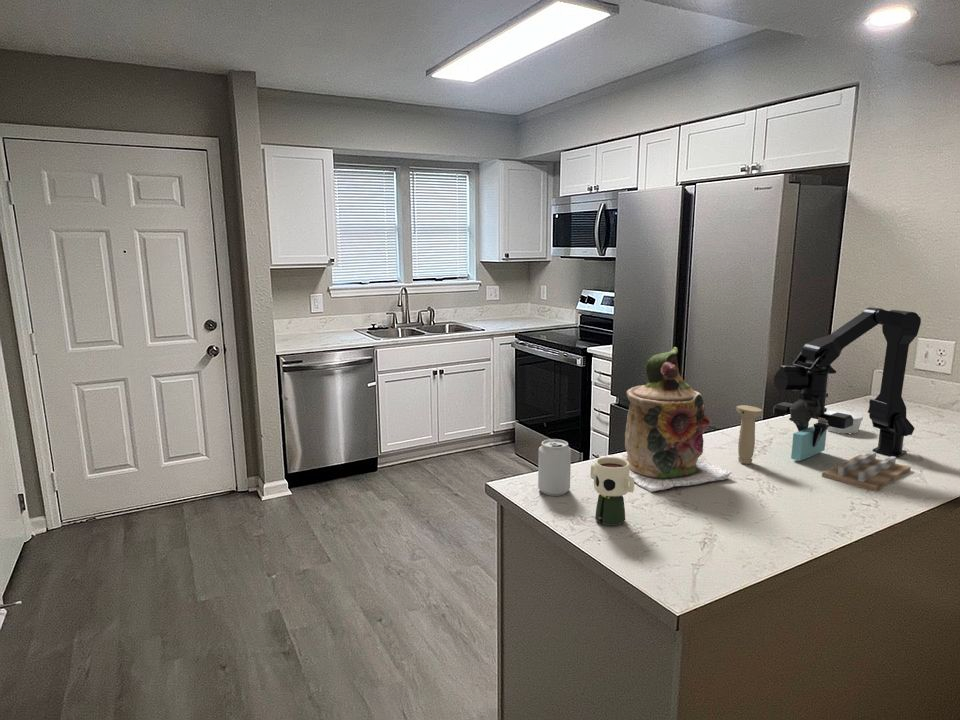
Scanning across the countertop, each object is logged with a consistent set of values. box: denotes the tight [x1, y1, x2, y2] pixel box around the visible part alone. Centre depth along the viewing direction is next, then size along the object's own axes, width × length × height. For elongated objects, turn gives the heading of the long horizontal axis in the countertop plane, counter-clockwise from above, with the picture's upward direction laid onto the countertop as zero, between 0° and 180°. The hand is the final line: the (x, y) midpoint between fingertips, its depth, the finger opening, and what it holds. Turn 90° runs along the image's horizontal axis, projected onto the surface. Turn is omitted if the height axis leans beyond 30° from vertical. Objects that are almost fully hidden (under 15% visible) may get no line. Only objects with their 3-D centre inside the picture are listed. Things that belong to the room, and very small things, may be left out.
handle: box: [735, 404, 763, 465], centre depth 161 cm, size 5×6×15 cm
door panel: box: [790, 425, 828, 462], centre depth 166 cm, size 14×2×7 cm, turn 127°
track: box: [821, 451, 912, 492], centre depth 154 cm, size 22×12×3 cm, turn 127°
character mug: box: [590, 457, 635, 526], centre depth 127 cm, size 11×7×13 cm, turn 40°
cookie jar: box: [599, 346, 733, 492], centre depth 154 cm, size 25×25×32 cm
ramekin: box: [824, 409, 864, 434], centre depth 191 cm, size 11×11×5 cm
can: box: [537, 438, 572, 497], centre depth 143 cm, size 8×8×12 cm
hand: (809, 445), depth 166 cm, fingers closed on door panel, 2 cm apart
